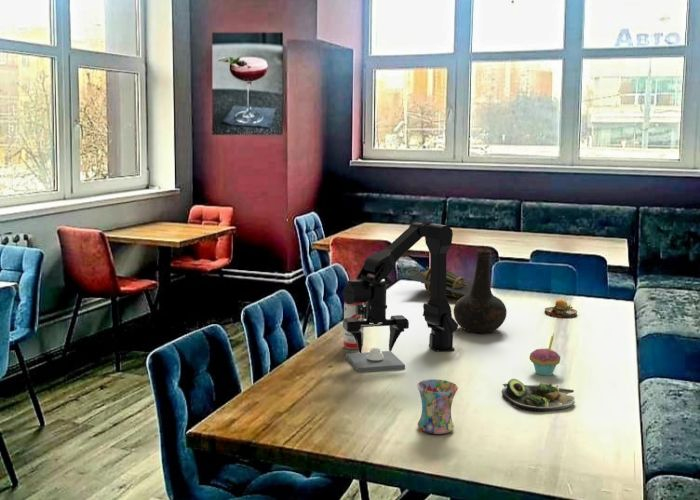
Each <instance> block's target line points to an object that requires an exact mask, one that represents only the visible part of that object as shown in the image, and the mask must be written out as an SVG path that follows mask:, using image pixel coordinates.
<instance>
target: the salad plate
mask: <svg viewBox="0 0 700 500" xmlns="http://www.w3.org/2000/svg"><path fill="white" fill-rule="evenodd" d="M502 386H504V387H503V388H502V389H501V394H502V397H503V398H504V399H505V400H506V402H507V403H509V404H510V405H511V406H513V407H514V406H515V409H516V408H517V409H518V410H519V409H520V410H522V411H526V412H527V411H528V412H537V413H538V412H539V413H540V412H550V411H551V412H552V411H558V410H563V409H568V408H570V407H571V406H573V405H574V404H575V403H576V401H575V399H574V398H572V397H571V396H569V395H568V394H573V393H574V392H575V390H574V389H569V388H561V387H559V385H558V384H556V386H554V385H553V384H552V383H550V384H548V383H543V382H540V383H539V384H538V383H537V384H524V383H523V382H522V381H521V380H519V379H517V378H511V379H509V380H508V382H507V383H504V384H503V383H502ZM553 402H558V403H560V404H561V405H559V406H549V403H553Z"/></svg>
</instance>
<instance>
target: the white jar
mask: <svg viewBox="0 0 700 500" xmlns="http://www.w3.org/2000/svg"><path fill="white" fill-rule="evenodd" d="M368 352H369V353H368V355H367V359H369V360H372V361H380V360H382V359H384V356H383V354H382V352H381V349H380V348H378V347H377V348H376V347H373V348H370V351H368Z"/></svg>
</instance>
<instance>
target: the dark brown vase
mask: <svg viewBox="0 0 700 500" xmlns="http://www.w3.org/2000/svg"><path fill="white" fill-rule="evenodd" d="M476 252H477V253H476V255H475V257H476V265H475V272H474V276H473V277H474V279H473V283H472V284H473V286H472V288H471V291H470V292H469V293H468V294H467V295H462V296H461V297H459V298H458V300H457V301H456V302H455V305H454V306H453V315H454V320H455V321H456V323H457V324H458V327H460V328H462V329H463V330H466V331H468V332H470V333H471V332H472V333H477V334H487V333H489V334H490V333H492V332H495V331H496V330H498V329H499V328H500V327H501V326H502V325H503V324H504V322H505V320H506V318H507V312H508V311H507V307H506V304H505V303H504V302H503V300H502V299H500V298H499V297H497V296H496V295H494V294H493V293H492V288H491V268H490V267H491V266H490V265H491V258H493V255H491V252H492V251H491V250H489V249H478V250H477V251H476Z"/></svg>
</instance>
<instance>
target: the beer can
mask: <svg viewBox="0 0 700 500" xmlns="http://www.w3.org/2000/svg"><path fill="white" fill-rule="evenodd" d="M357 304H363V307H365V302H363V303H357ZM355 309H356V304H350V305H349V304H347V303H346V302H345V301H344V304H343V320H344V319H345V318H357V319H358V320H359V321H365V319H364V318H362V315H356V311H355ZM364 328H365V327H361V329H360V331H361V332H362V347H363V345H364ZM343 346H344V347H345V348H346V349H348V350H358V347H357V344H356V340H355V338H354V336H353V334H351V333H350V332H347V331H346V330H345V329H344V328H343Z"/></svg>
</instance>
